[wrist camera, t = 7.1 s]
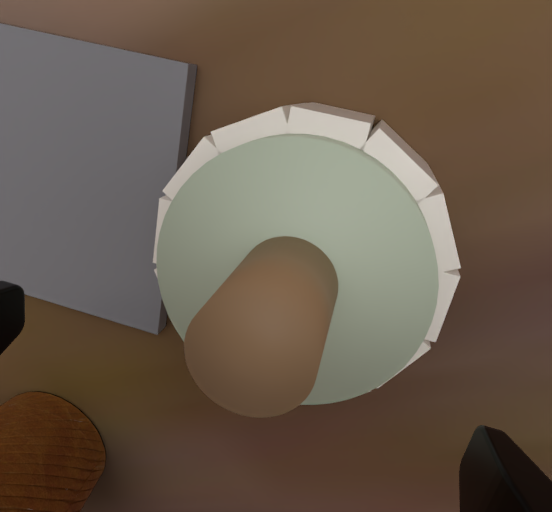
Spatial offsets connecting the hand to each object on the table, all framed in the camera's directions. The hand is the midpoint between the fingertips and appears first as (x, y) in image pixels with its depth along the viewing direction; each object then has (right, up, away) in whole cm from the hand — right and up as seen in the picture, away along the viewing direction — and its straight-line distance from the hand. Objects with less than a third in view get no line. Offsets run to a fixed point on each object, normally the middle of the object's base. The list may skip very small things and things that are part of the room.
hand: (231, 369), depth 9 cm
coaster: (-8, +5, +11) cm, 15 cm away
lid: (+1, +2, +5) cm, 6 cm away
